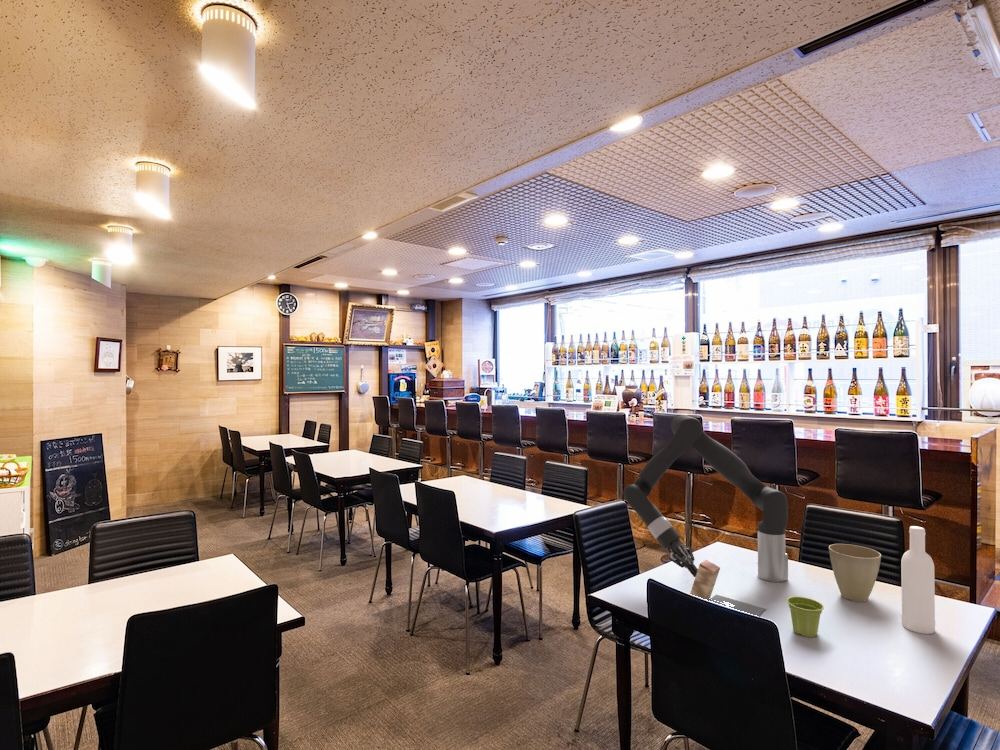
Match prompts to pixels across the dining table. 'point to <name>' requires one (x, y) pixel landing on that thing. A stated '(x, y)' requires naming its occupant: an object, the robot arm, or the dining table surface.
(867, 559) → the plant pot
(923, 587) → the bottle
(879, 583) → the dining table surface
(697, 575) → the oak block
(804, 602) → the plant pot
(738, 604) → the slate mat
